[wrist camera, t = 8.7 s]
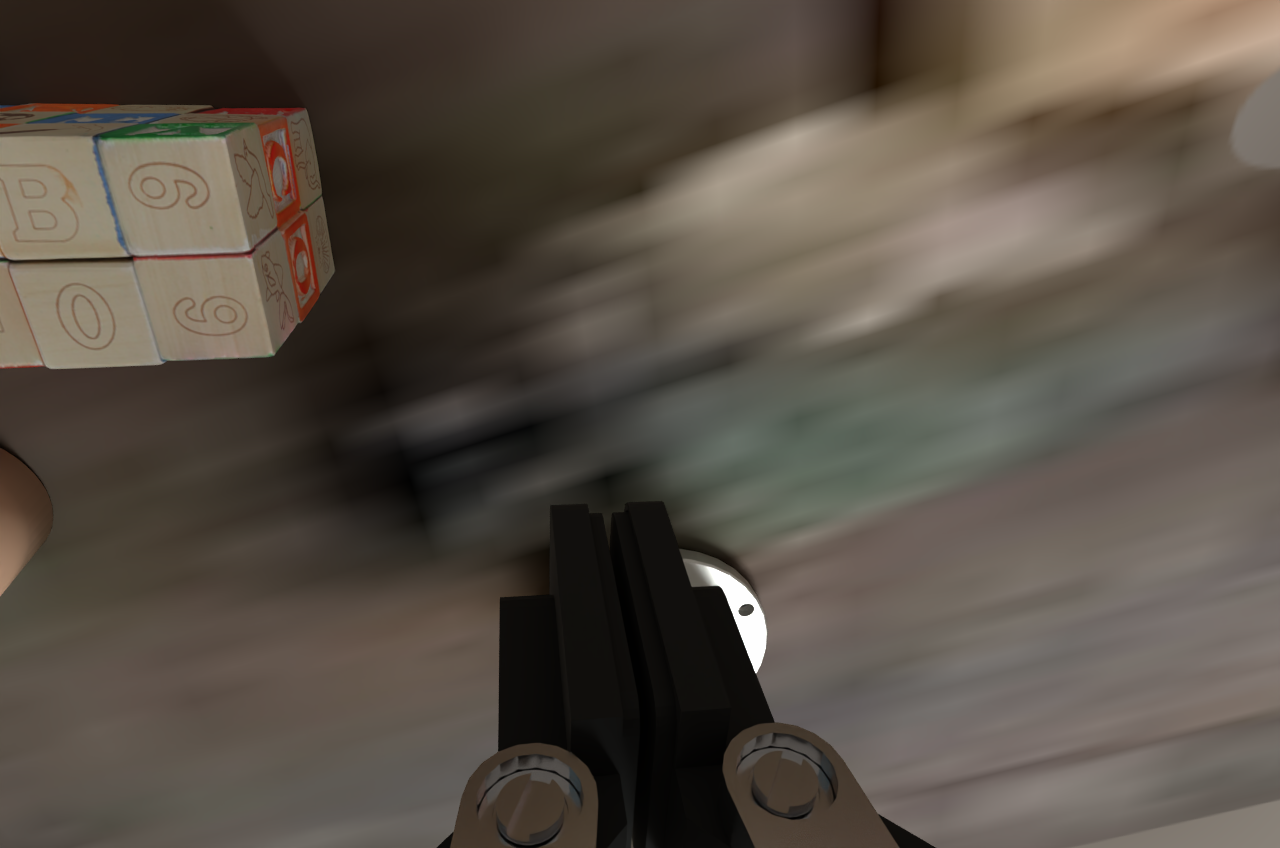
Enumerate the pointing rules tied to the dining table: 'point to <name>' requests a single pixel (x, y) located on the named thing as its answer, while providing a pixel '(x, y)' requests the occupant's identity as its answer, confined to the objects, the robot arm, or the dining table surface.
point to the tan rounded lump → (20, 517)
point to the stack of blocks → (156, 233)
